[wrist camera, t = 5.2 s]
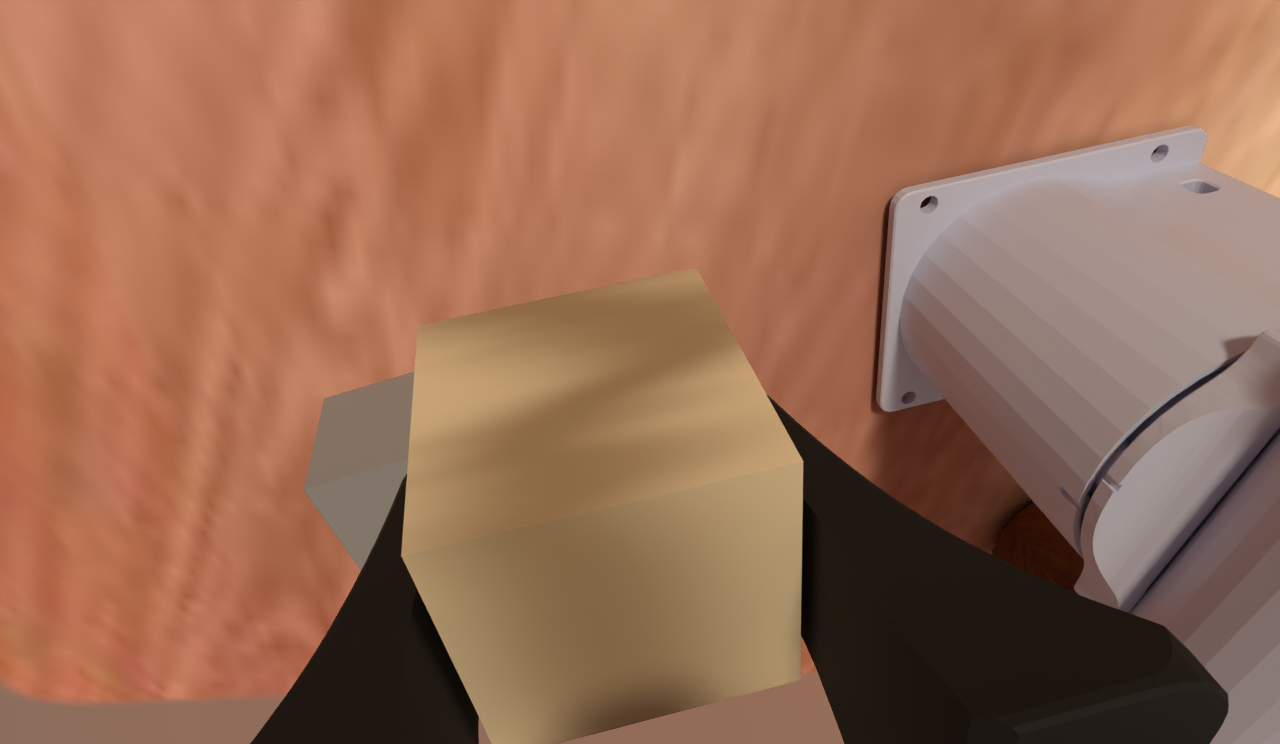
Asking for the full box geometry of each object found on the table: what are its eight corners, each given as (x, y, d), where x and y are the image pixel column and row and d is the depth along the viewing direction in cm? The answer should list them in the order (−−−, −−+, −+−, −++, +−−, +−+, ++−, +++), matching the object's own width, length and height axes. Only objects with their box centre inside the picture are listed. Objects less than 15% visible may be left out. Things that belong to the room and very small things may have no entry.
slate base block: (592, 313, 22) (616, 396, 19) (648, 496, 27) (674, 587, 24) (325, 392, 22) (303, 489, 18) (431, 562, 26) (428, 663, 23)
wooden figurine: (1026, 585, 35) (1327, 983, 23) (940, 561, 32) (1229, 994, 20) (1139, 483, 32) (1553, 878, 20) (1055, 447, 29) (1471, 875, 17)
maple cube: (696, 267, 13) (803, 460, 9) (713, 466, 16) (800, 679, 12) (418, 325, 13) (401, 556, 9) (487, 519, 15) (499, 758, 11)
